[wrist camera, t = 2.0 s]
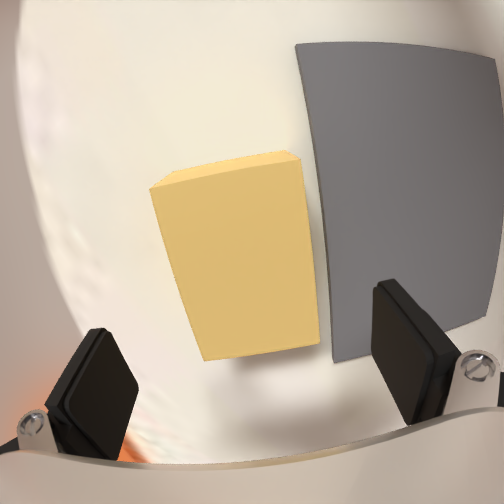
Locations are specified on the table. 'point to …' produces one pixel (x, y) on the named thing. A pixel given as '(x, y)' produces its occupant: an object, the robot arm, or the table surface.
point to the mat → (405, 179)
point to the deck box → (241, 253)
